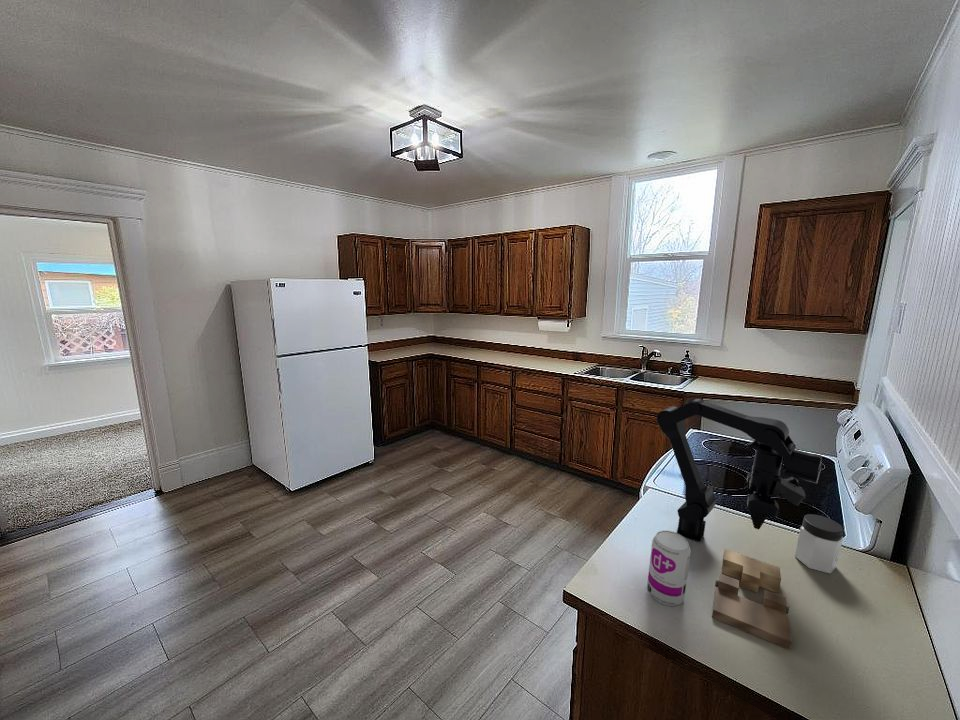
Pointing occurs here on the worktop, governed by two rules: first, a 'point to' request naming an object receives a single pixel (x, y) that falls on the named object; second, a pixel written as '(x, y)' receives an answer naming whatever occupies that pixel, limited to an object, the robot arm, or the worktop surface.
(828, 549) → the jar
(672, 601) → the supplement can
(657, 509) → the worktop surface
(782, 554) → the worktop surface
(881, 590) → the worktop surface
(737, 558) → the tan block
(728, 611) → the fixed leaf
